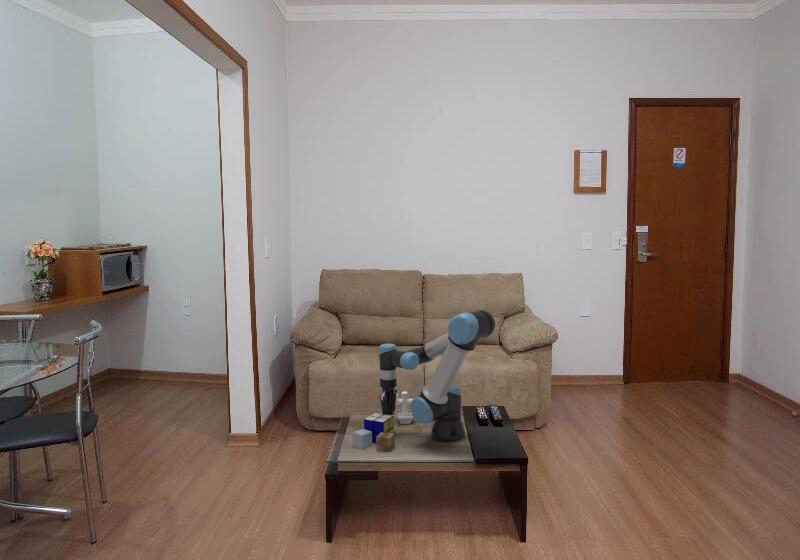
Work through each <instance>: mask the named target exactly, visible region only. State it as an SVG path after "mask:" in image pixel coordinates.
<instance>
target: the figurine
mask: <svg viewBox="0 0 800 560" xmlns="http://www.w3.org/2000/svg"><path fill="white" fill-rule="evenodd" d="M408 396H409V393H408V391H406V390H405V391H402V392H401V398H399V393H398V392H397V395H396V405H395V406H402V412H397V420H398V421H399V423H400V424H399V425H410V424H411V422H412V420H413V419H414V417H413V415H412V412H409V411H408V406H410V404H411V401H412V400H413V399H414V398H408Z"/></svg>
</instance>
